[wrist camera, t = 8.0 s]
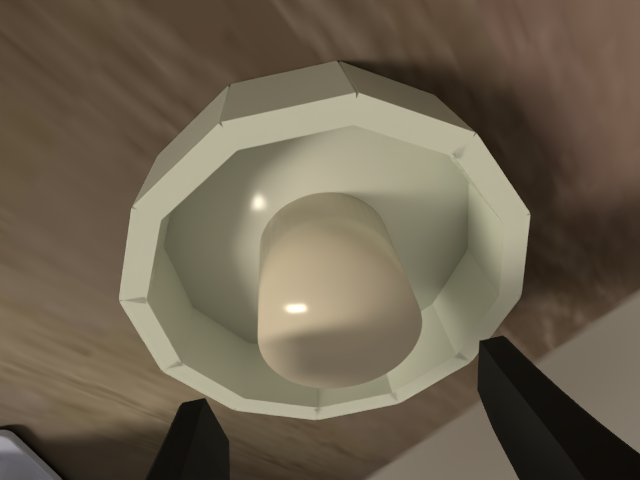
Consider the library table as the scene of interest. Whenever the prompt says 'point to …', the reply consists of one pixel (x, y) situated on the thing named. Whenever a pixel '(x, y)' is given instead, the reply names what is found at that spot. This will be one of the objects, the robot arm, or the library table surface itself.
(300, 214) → the marshmallow
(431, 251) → the bowl
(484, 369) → the robot arm
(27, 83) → the library table surface
